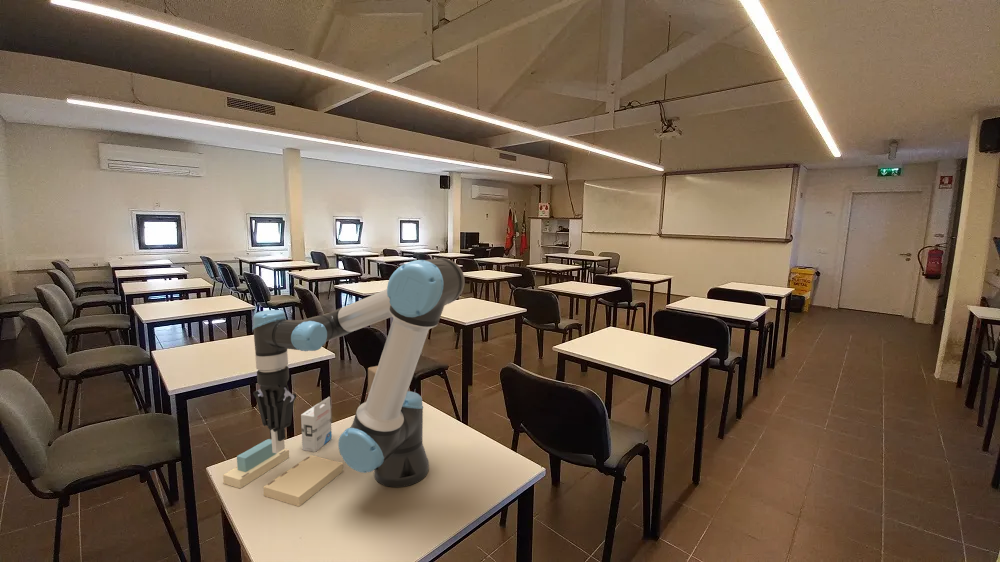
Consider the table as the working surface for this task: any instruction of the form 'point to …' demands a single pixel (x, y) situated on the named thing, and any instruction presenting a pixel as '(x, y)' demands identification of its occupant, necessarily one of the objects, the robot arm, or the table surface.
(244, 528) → the table surface
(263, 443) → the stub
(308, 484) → the beige flat slab
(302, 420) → the ink box
